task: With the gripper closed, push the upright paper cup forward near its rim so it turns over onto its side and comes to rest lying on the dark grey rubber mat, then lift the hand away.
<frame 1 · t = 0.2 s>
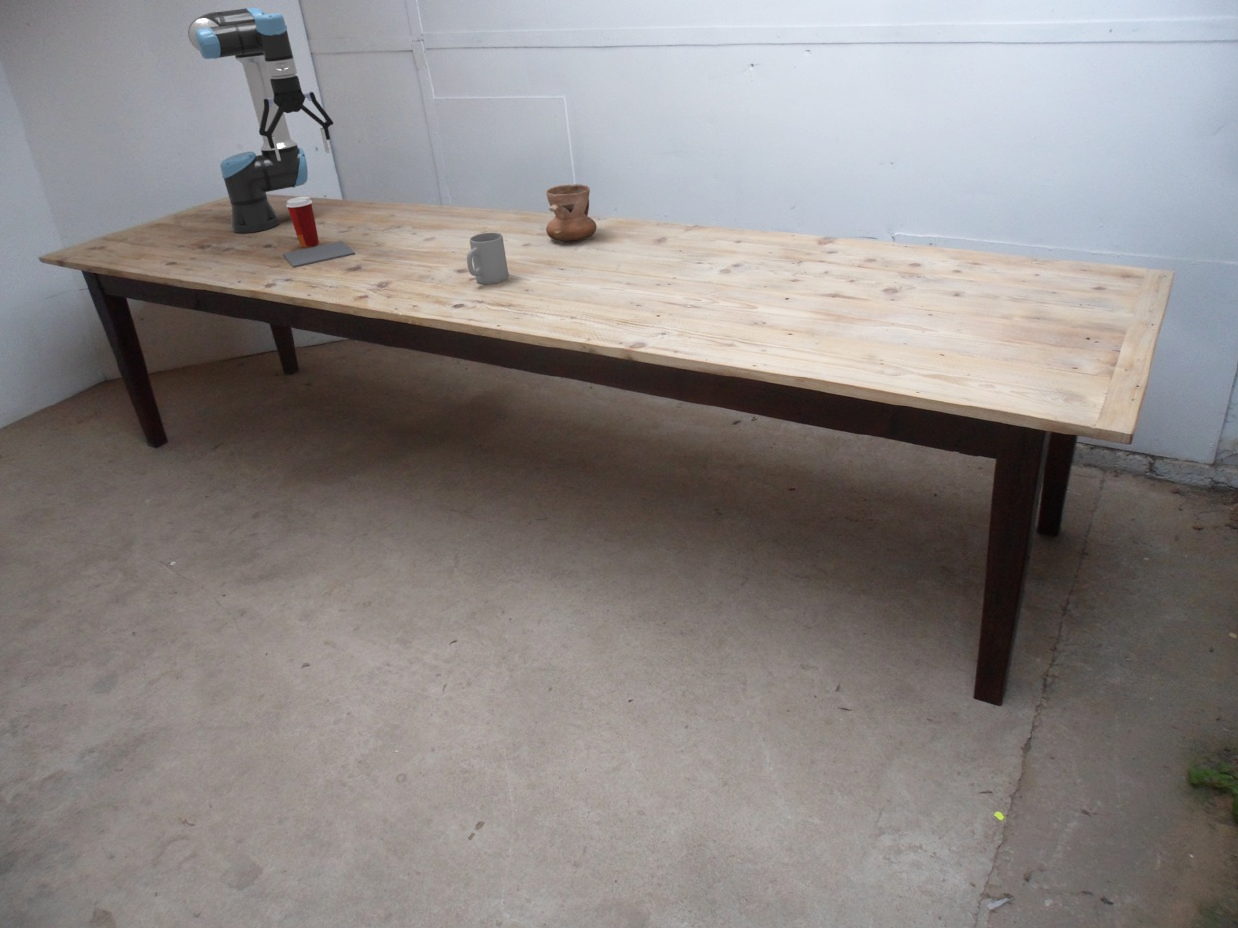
hand: (303, 156, 260), 27 cm above the table, tool pointing down, fingers open, 13 cm apart
ceramic jug: (573, 238, 263), on the table
paper cup: (309, 245, 281), on the table
mug: (488, 281, 236), on the table
rubber mat: (318, 254, 271), on the table
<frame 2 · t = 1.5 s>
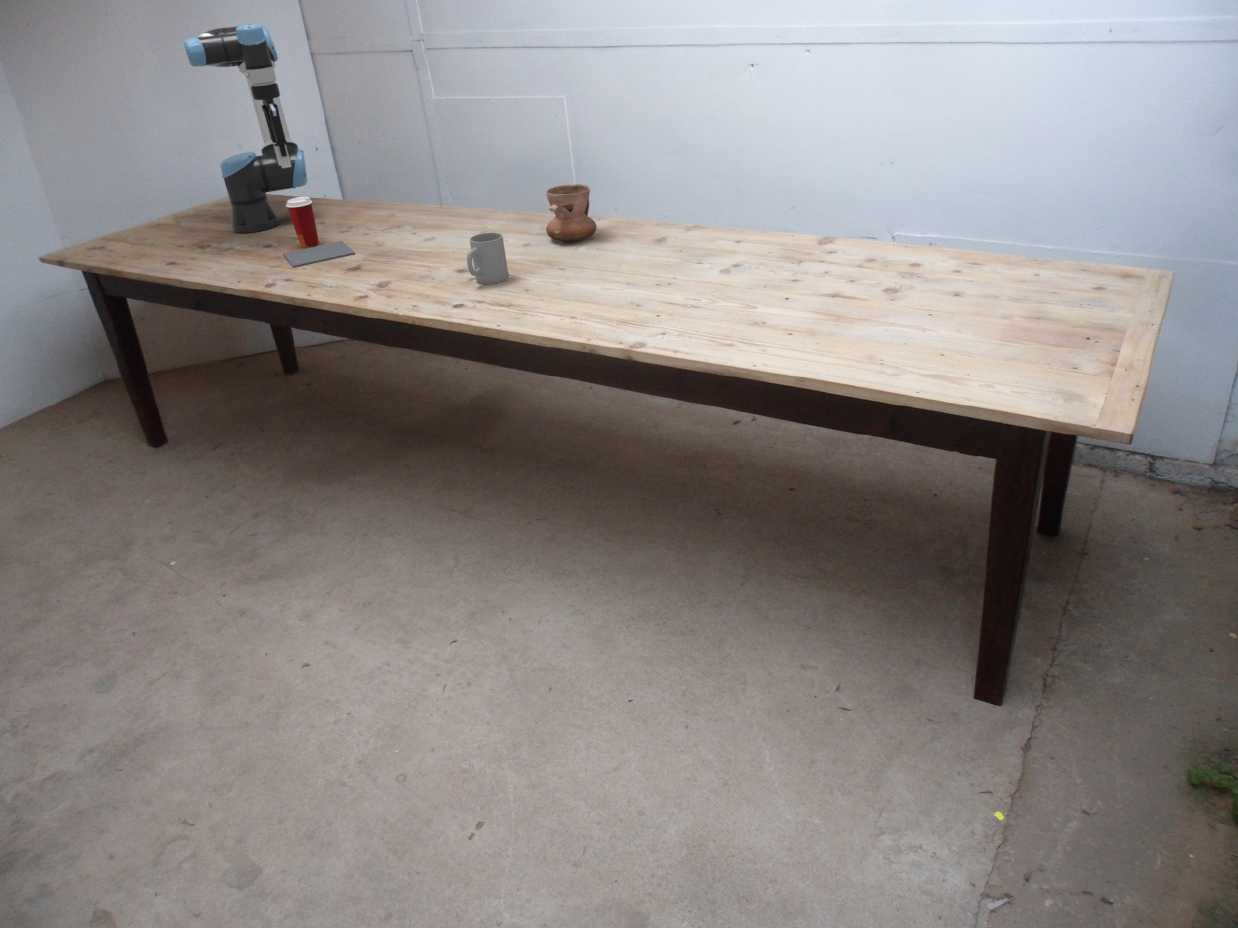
hand: (285, 166, 276), 23 cm above the table, tool pointing down, fingers open, 4 cm apart
nothing on the table moved.
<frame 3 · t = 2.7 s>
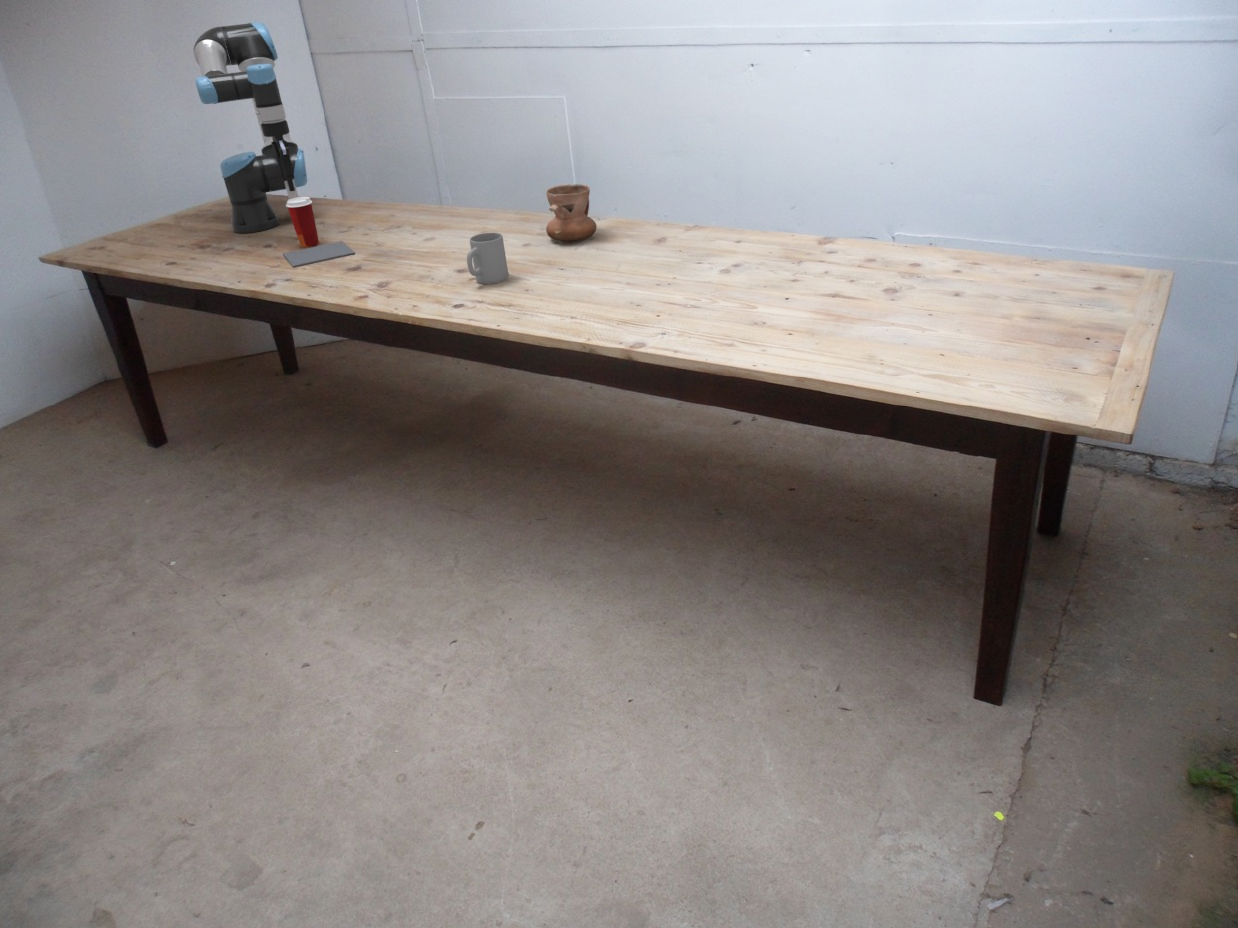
hand: (294, 201, 281), 12 cm above the table, tool pointing down, fingers closed
nothing on the table moved.
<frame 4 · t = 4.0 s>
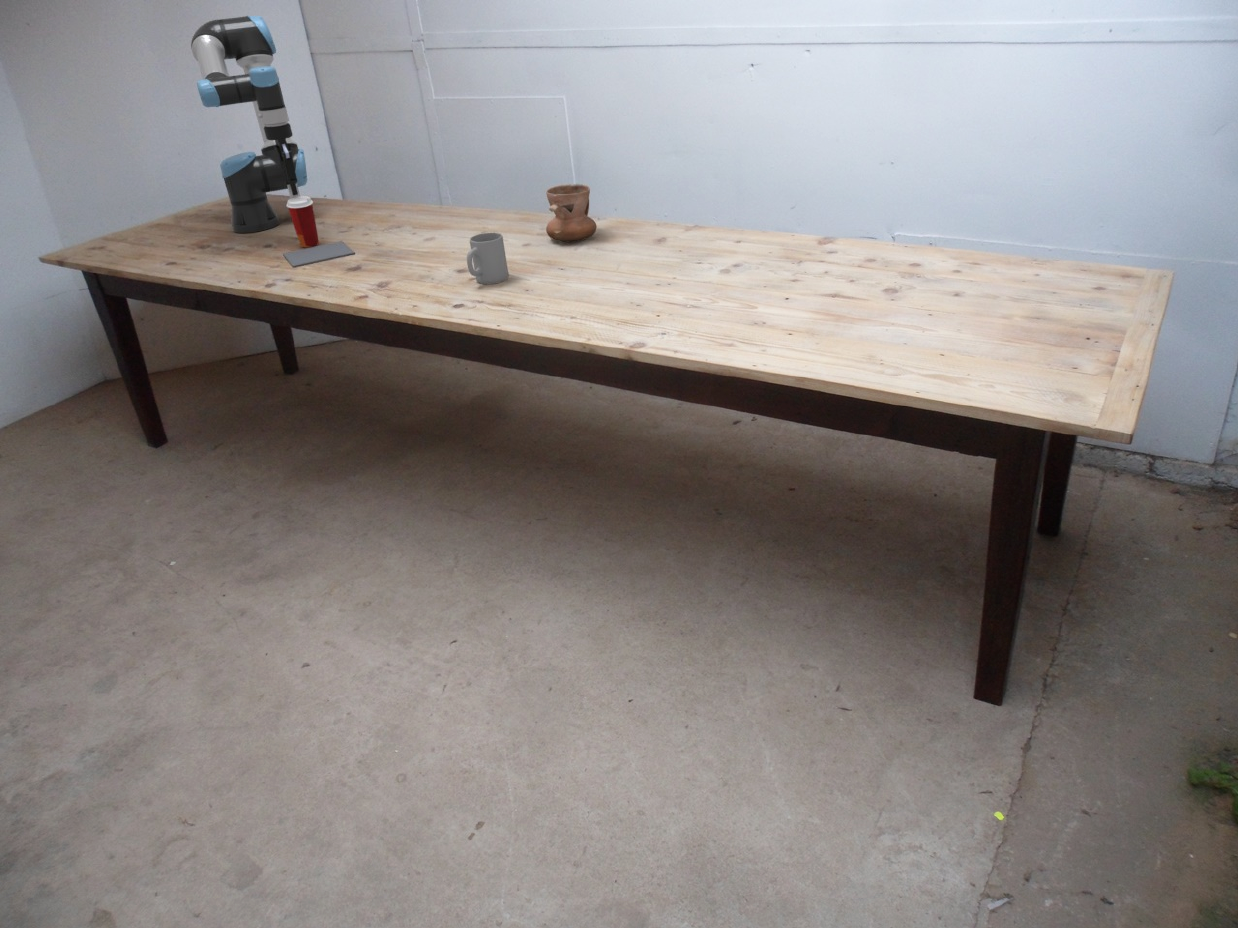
hand: (297, 205, 278), 12 cm above the table, tool pointing down, fingers closed
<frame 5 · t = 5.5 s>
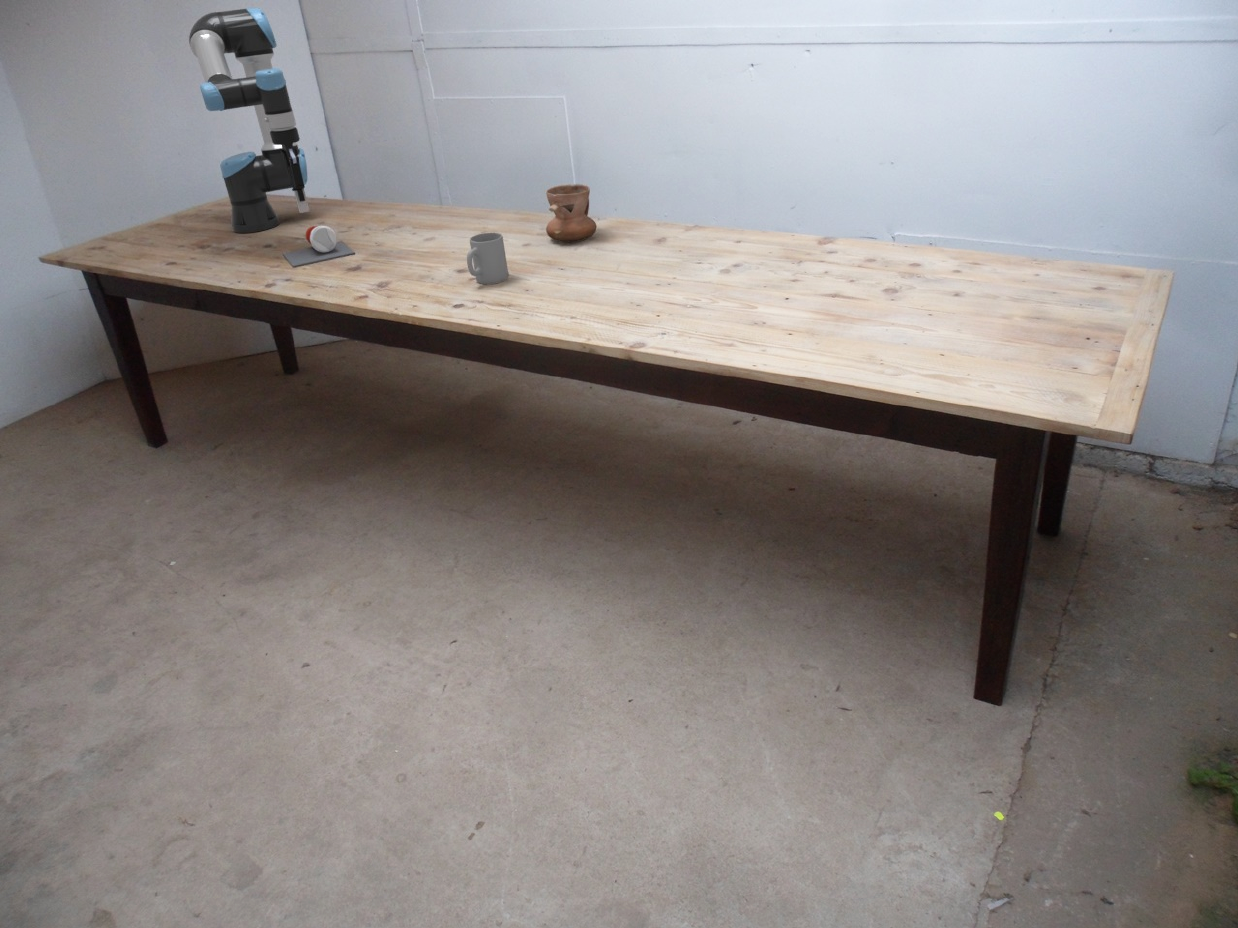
hand: (304, 211, 270), 12 cm above the table, tool pointing down, fingers closed
paper cup: (314, 235, 278), point 3 cm above the table, touching rubber mat
everything else where it was.
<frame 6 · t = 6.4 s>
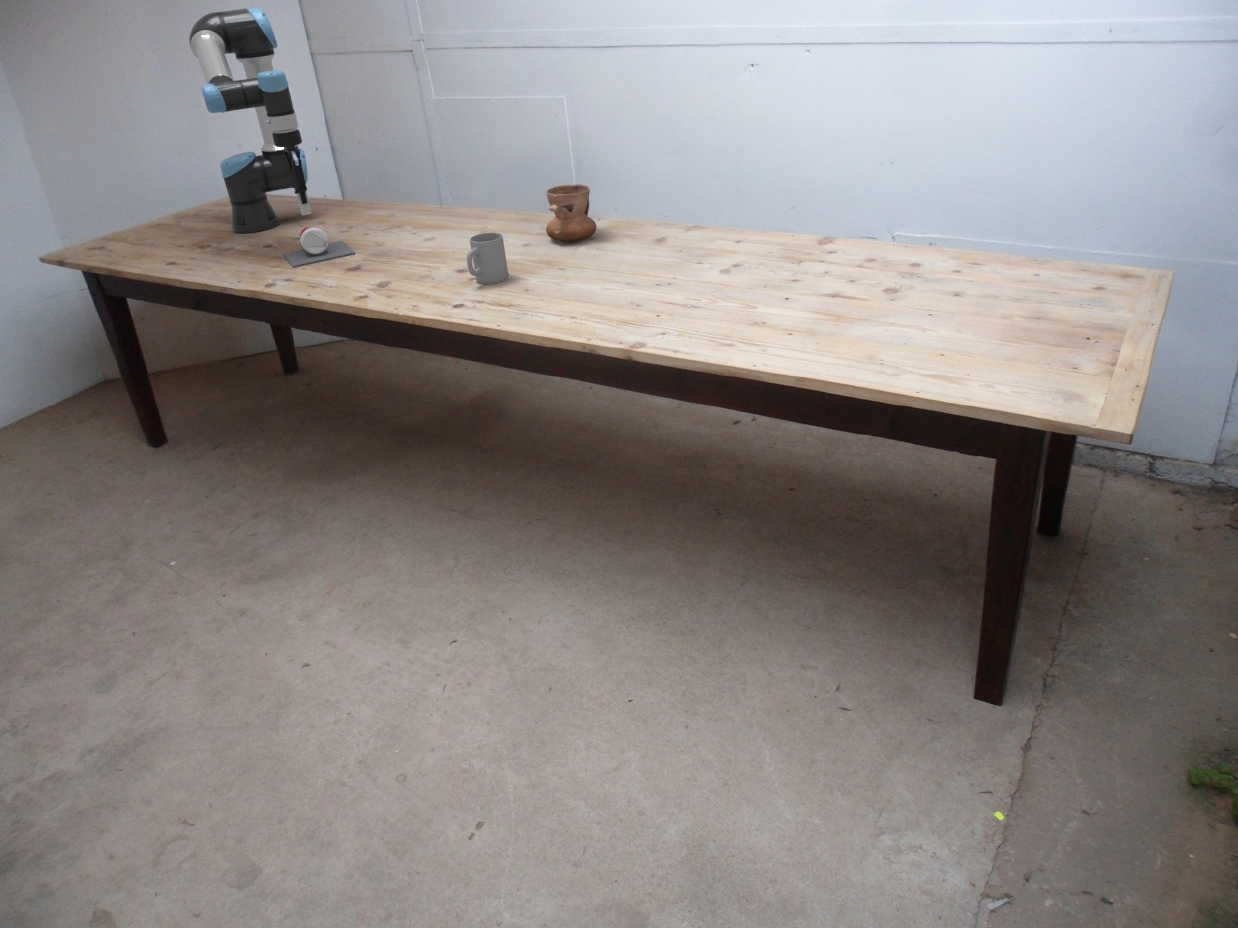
hand: (306, 214, 267), 11 cm above the table, tool pointing down, fingers closed
paper cup: (308, 236, 278), point 3 cm above the table, touching rubber mat
everything else where it was.
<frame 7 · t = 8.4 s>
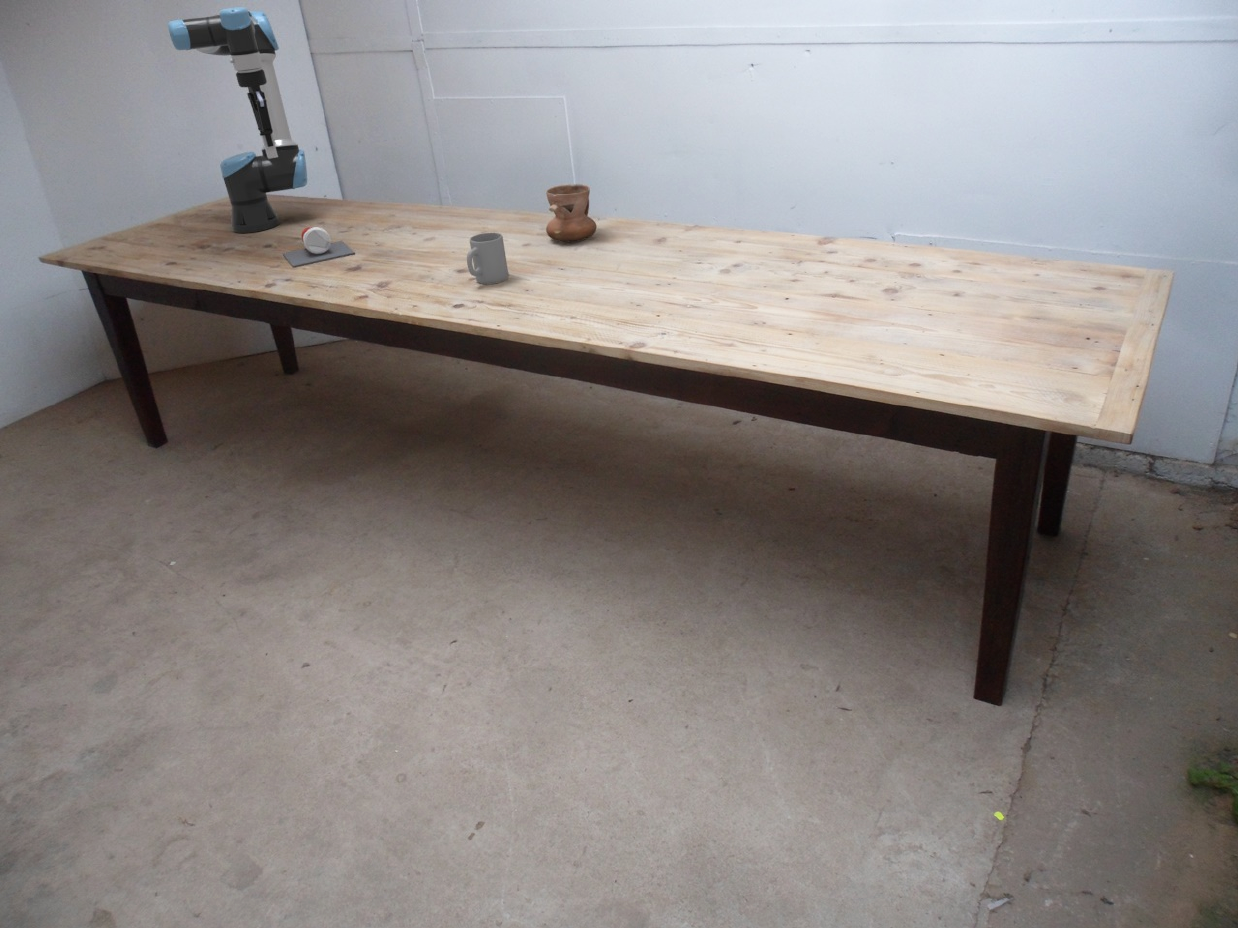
hand: (272, 157, 264), 27 cm above the table, tool pointing down, fingers closed
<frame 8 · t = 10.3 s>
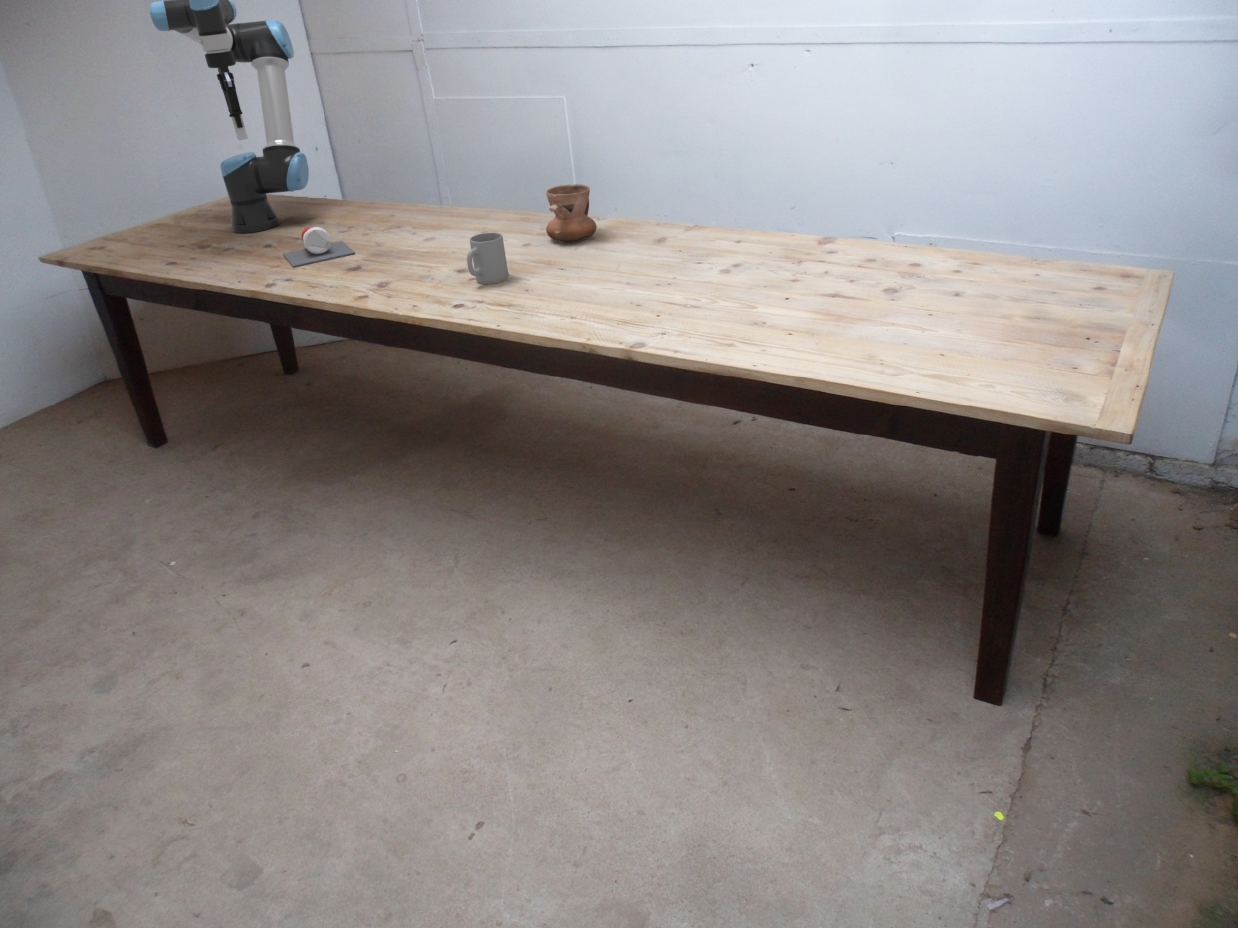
hand: (242, 139, 266), 32 cm above the table, tool pointing down, fingers closed
nothing on the table moved.
at the end: paper cup tilted 83°; paper cup touching rubber mat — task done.
